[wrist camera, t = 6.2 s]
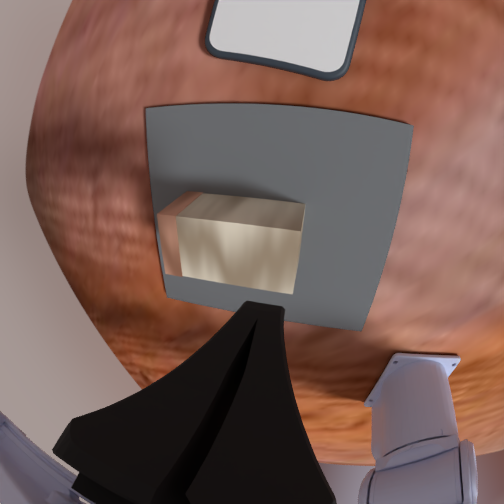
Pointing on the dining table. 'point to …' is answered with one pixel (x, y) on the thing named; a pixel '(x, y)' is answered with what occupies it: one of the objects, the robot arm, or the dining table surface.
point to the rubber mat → (290, 195)
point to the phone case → (287, 34)
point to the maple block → (232, 240)
